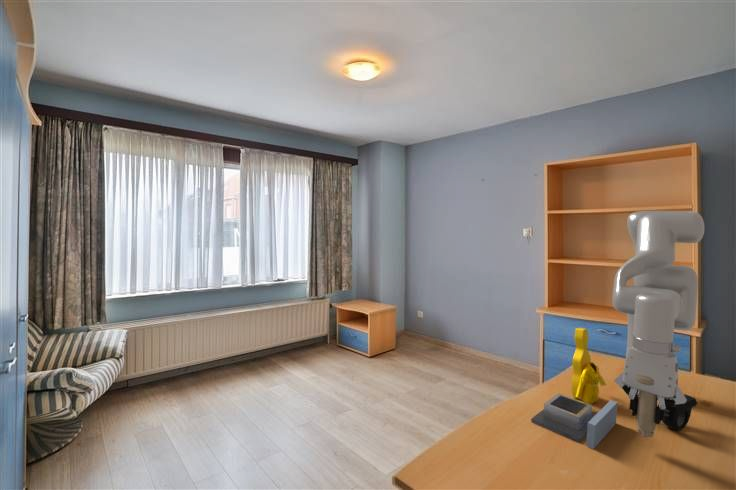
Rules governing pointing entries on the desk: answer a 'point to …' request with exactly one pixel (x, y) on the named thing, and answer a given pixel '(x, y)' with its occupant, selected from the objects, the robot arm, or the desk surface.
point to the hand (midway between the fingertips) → (646, 417)
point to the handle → (646, 409)
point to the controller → (679, 413)
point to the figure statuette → (584, 371)
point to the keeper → (565, 417)
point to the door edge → (601, 424)
